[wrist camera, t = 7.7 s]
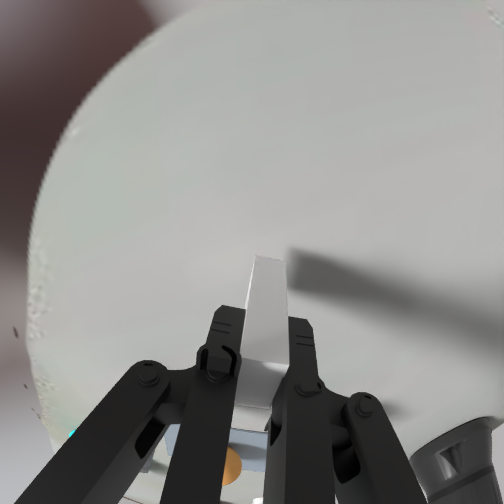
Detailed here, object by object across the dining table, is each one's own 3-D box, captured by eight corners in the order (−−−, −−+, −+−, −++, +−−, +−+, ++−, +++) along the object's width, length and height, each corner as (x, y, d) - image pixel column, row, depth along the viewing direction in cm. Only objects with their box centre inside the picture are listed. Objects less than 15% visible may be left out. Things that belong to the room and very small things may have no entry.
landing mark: (291, 435, 25) (291, 436, 25) (264, 471, 31) (264, 472, 31) (160, 412, 25) (160, 413, 25) (168, 453, 31) (168, 454, 31)
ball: (236, 485, 25) (242, 447, 29) (241, 492, 21) (247, 447, 25) (191, 478, 25) (198, 440, 29) (188, 483, 21) (195, 439, 25)
